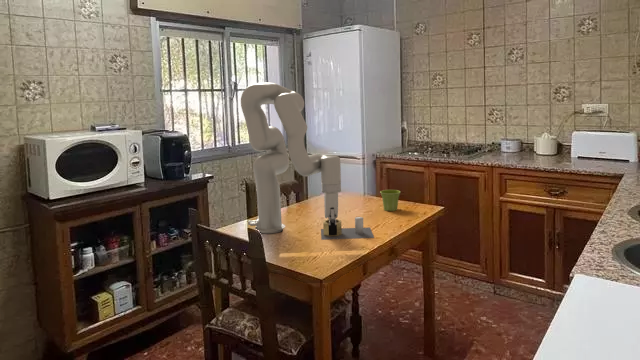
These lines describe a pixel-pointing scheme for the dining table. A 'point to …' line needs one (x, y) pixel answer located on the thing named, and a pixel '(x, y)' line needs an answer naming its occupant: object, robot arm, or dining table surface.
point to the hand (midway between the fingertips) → (332, 231)
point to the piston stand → (352, 232)
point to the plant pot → (390, 199)
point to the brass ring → (326, 227)
